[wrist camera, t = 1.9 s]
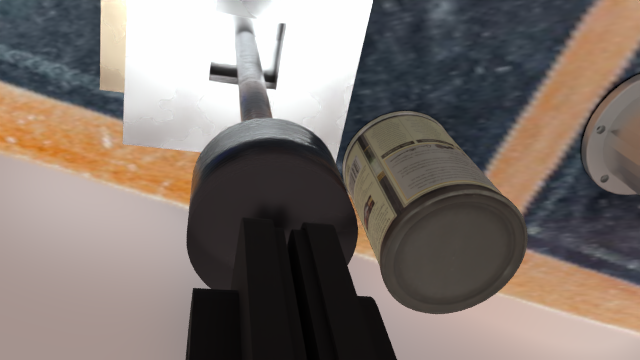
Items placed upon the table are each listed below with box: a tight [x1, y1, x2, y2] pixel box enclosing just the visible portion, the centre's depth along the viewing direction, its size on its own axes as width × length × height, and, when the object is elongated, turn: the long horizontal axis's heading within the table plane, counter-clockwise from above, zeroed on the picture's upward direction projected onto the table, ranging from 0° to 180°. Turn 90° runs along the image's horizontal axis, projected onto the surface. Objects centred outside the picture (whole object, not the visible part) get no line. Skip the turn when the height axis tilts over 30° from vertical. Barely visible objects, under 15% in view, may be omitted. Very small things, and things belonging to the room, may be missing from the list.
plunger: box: [187, 12, 358, 290], centre depth 19 cm, size 7×7×16 cm
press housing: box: [100, 0, 373, 163], centre depth 32 cm, size 18×18×18 cm
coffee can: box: [343, 111, 527, 314], centre depth 43 cm, size 10×10×14 cm
